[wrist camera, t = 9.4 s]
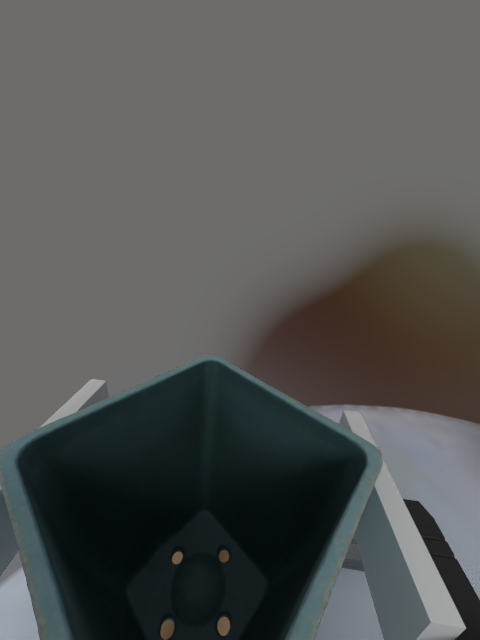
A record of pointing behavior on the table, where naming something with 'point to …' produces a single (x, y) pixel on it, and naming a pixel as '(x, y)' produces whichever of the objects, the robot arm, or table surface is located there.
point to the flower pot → (186, 510)
